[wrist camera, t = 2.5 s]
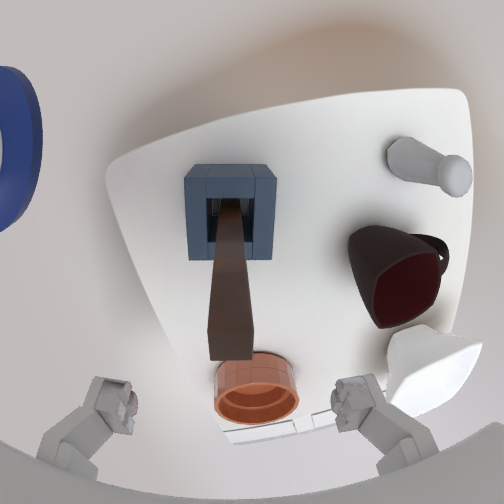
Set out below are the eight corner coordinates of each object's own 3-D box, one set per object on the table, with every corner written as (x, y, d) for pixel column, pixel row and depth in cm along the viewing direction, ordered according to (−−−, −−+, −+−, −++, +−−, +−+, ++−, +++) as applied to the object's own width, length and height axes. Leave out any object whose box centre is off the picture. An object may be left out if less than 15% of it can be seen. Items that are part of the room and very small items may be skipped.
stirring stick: (222, 206, 34) (210, 361, 12) (222, 190, 33) (207, 330, 11) (238, 206, 34) (252, 360, 13) (238, 190, 33) (254, 330, 12)
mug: (328, 224, 36) (366, 270, 25) (413, 196, 35) (467, 228, 24) (340, 283, 40) (372, 338, 30) (416, 254, 39) (460, 295, 28)
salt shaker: (381, 177, 33) (441, 209, 22) (379, 135, 31) (444, 150, 19) (414, 175, 33) (477, 204, 22) (414, 135, 31) (481, 151, 19)
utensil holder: (197, 230, 35) (188, 260, 28) (194, 164, 31) (183, 177, 24) (263, 230, 36) (271, 260, 28) (266, 164, 32) (277, 178, 25)
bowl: (366, 316, 44) (400, 377, 31) (450, 291, 44) (490, 335, 31) (356, 380, 52) (376, 432, 40) (429, 354, 52) (455, 397, 40)
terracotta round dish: (217, 397, 51) (217, 425, 45) (212, 351, 45) (211, 383, 38) (287, 394, 52) (292, 421, 46) (297, 348, 46) (305, 379, 40)
